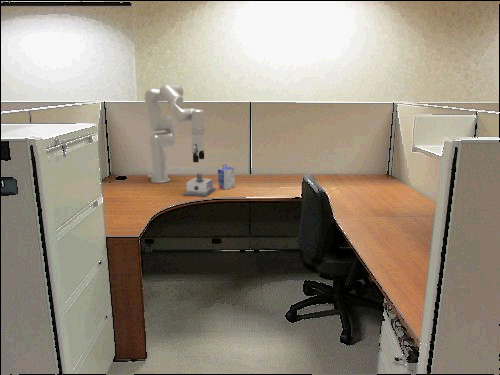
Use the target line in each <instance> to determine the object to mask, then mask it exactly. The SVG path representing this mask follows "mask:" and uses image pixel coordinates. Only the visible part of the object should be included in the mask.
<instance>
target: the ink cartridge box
mask: <svg viewBox="0 0 500 375" xmlns="http://www.w3.org/2000/svg"><path fill="white" fill-rule="evenodd" d="M217 175H218V177H217V178H218V189H221V190H227V189H232V188H235V187H236V186H235V185H236V183H235V182H236V180H235V179H236V178H235V167H231V166H228V165H227V163H225V164H222V168H219V169H217Z"/></svg>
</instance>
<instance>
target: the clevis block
mask: <svg viewBox="0 0 500 375" xmlns="http://www.w3.org/2000/svg"><path fill="white" fill-rule="evenodd" d="M213 180H214V179H213V178H203V177H202V182H198V181H197V177H193V178H191V179H190V180H188V181H187V182H186V191H185V192H184V193H183V196H184V197H199V198H200V197H202V198H207V197H209V196H210V195H211V194H212V193H214V192H215V191H216V190H217V187H215V186H214V184H213V182H214V181H213Z"/></svg>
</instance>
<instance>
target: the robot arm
mask: <svg viewBox="0 0 500 375" xmlns="http://www.w3.org/2000/svg"><path fill="white" fill-rule="evenodd" d="M183 96H184V88H183V87H182V85H181V84H177V83H167V84H166V83H165V84H163V85H161V86H160V87H152V88H148V89H147V90H146V91H145V93H144V102H145V105H146V108H147V113H148V122H149V127H150V129H151V131H154V132H156V133H152V134H151V135H149V138H148V141H149V146H150V151H151V152H150V153H151V164H152V165H151V166H152V174H151V173H148V174H147V178H151V179H150V182H151V183H155V184H156V183H159V184H162V183H167V182H170V181H171V178H170V177H168V160H167V159H168V158H167V156H168V155H167V152H166V151H165V149H164V148H168V147H173V146H174V145H176V140H177V139H176V130H175V122H174V119H175V121H177V122H179V123H188V122H191V123H190V124H191V144H190V145H191V146H190V147H191V153H192V162H193V163H200V160H205V134H206V128H205V126H206V125H205V120H206V119H205V110H204V109H199V108H198V109H197V108H192V107H191V108H190V107H189V108H180V107H181V106H182V105H183V103H184V98H183ZM159 102H161V103H163V102H165V103H166V102H167V103H168V104H169V110H170V114H171V115H172V117H171V116H170V115H168V114H165V115H163V113H162V107H161V106H160V104H159ZM173 118H174V119H173ZM160 131H164V132H160Z"/></svg>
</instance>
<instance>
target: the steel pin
mask: <svg viewBox="0 0 500 375" xmlns="http://www.w3.org/2000/svg"><path fill="white" fill-rule="evenodd" d="M196 178H197V181H198V182H202V178H203V173H196Z"/></svg>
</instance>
